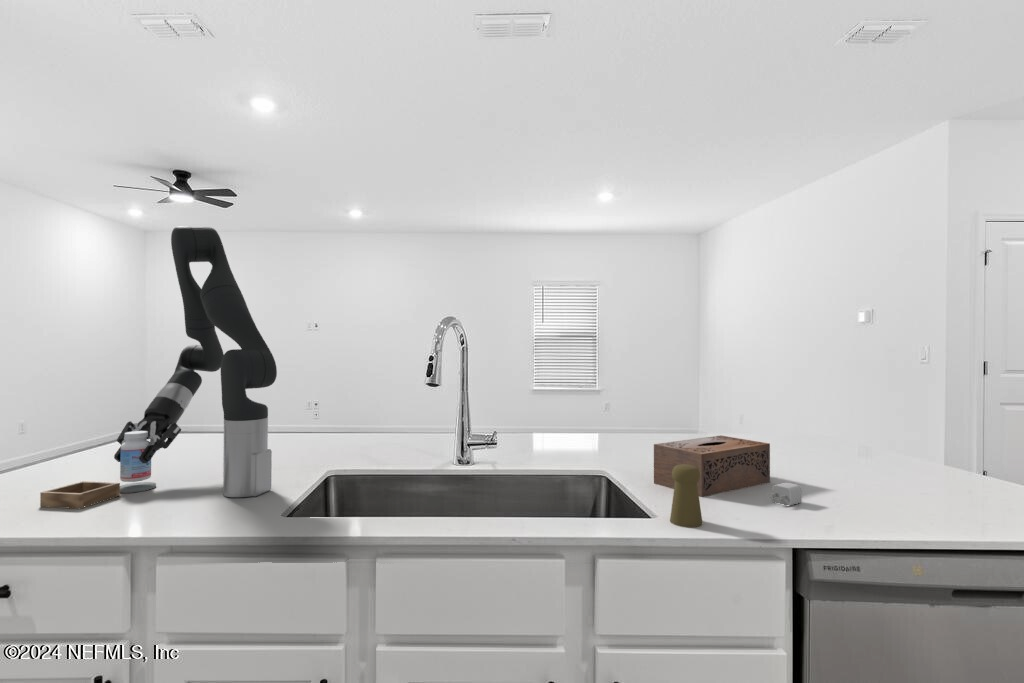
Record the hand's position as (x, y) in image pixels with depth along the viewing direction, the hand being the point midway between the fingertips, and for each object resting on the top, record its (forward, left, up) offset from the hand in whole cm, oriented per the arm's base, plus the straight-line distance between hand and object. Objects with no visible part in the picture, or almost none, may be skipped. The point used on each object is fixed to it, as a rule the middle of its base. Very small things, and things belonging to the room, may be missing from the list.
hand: (130, 460), depth 127 cm
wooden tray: (+3, +10, -7) cm, 12 cm away
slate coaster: (0, -1, -7) cm, 7 cm away
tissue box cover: (-137, -29, -7) cm, 140 cm away
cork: (-126, +3, -7) cm, 126 cm away
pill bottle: (0, -2, -5) cm, 5 cm away
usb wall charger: (-149, -13, -7) cm, 149 cm away
